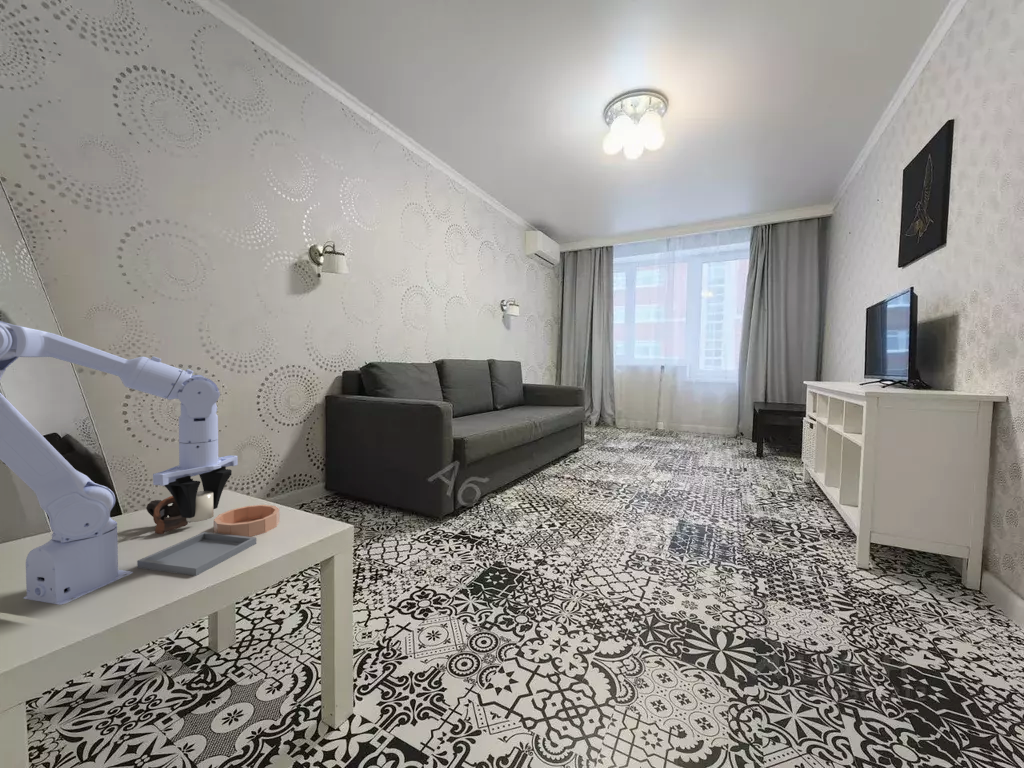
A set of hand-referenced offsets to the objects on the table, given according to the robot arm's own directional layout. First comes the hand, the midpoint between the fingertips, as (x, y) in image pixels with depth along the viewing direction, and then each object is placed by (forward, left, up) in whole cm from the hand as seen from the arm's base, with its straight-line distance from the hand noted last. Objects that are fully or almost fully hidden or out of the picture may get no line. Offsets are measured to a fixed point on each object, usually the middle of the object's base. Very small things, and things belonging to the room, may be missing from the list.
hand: (200, 512), depth 73 cm
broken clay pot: (+10, +19, -9) cm, 23 cm away
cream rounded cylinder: (0, 0, -1) cm, 1 cm away
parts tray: (0, 0, -9) cm, 9 cm away
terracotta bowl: (+13, +2, -9) cm, 15 cm away
